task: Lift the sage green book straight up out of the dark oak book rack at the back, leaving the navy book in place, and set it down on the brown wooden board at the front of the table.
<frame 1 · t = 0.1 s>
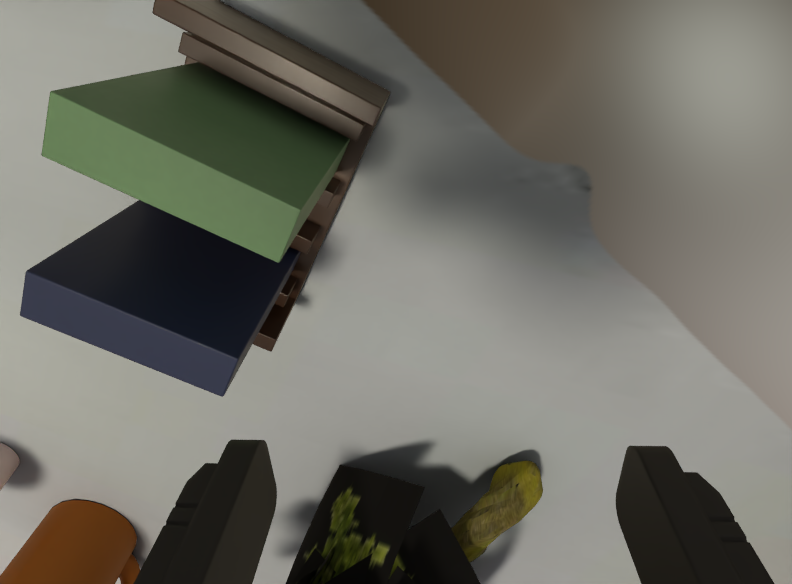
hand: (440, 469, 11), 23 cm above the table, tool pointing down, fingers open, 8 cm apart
potted plant: (405, 519, 47), on the table
mug: (105, 537, 51), on the table
book rack: (257, 171, 32), on the table
green book: (272, 118, 30), point 1 cm above the table, touching book rack
navy book: (234, 226, 33), point 1 cm above the table, touching book rack
smoothie: (0, 454, 46), on the table
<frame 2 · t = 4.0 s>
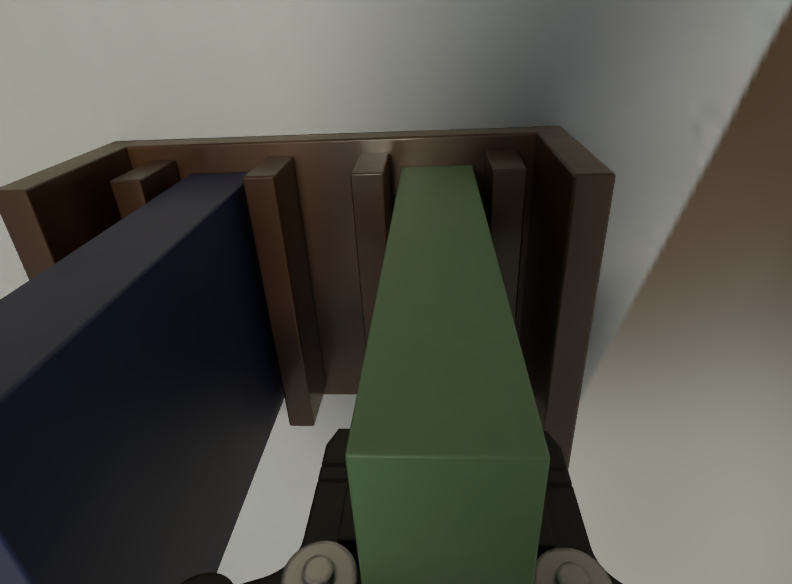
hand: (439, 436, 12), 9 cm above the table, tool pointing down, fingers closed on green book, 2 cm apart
book rack: (344, 272, 21), on the table
green book: (437, 282, 19), point 1 cm above the table, touching book rack, gripper
navy book: (246, 285, 20), point 1 cm above the table, touching book rack
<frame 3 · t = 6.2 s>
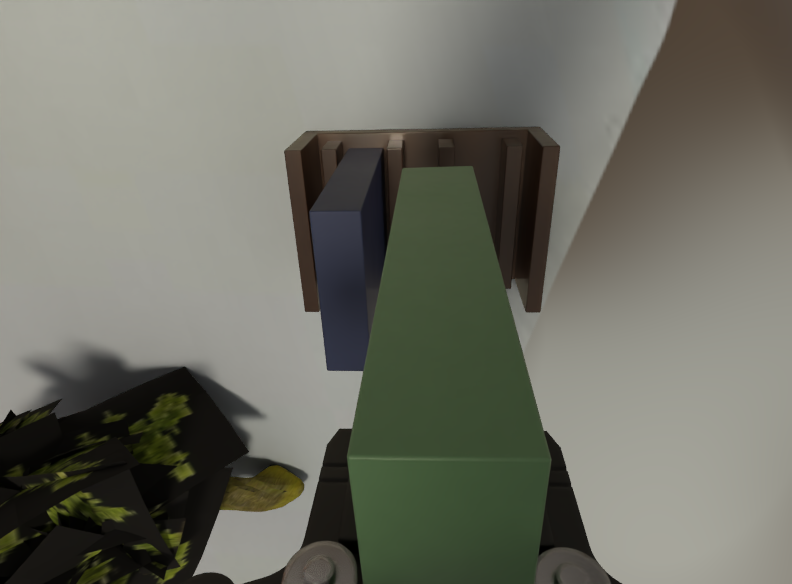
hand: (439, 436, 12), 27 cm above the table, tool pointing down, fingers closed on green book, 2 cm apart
potted plant: (167, 433, 50), on the table
book rack: (421, 206, 37), on the table
green book: (438, 283, 19), point 19 cm above the table, touching gripper
navy book: (369, 211, 37), point 1 cm above the table, touching book rack
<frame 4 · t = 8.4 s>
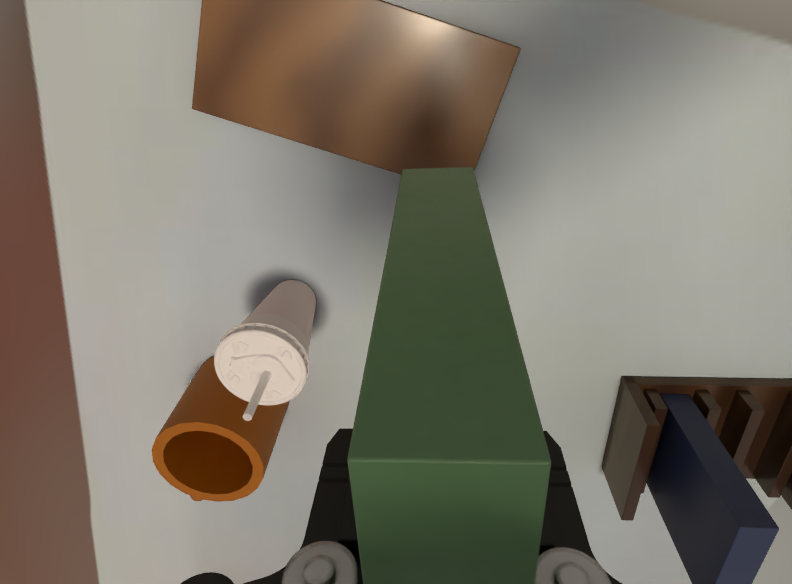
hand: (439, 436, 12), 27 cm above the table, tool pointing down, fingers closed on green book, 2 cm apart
mug: (237, 398, 49), on the table
book rack: (701, 425, 46), on the table
green book: (438, 284, 19), point 19 cm above the table, touching gripper
brown wooden board: (349, 78, 34), on the table
navy book: (663, 432, 46), point 1 cm above the table, touching book rack
smoothie: (294, 298, 43), on the table
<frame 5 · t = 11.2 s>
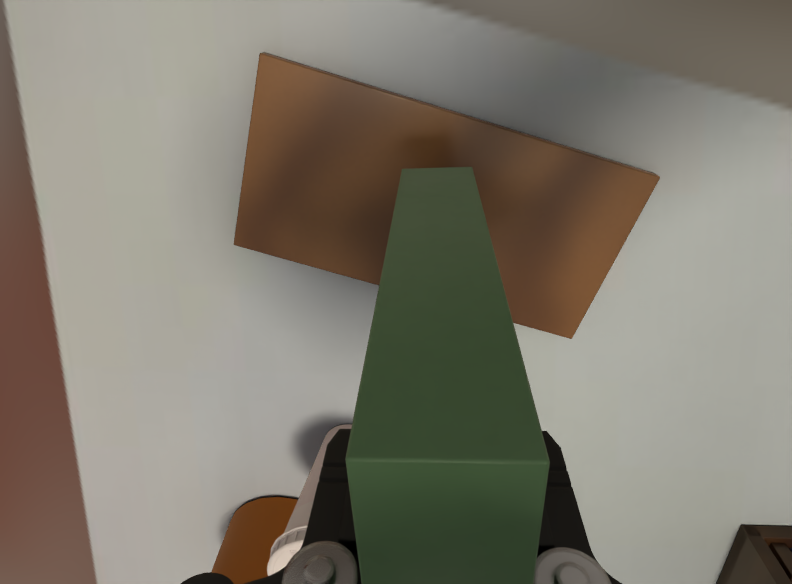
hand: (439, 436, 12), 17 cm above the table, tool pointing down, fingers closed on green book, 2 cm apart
mug: (277, 540, 41), on the table
green book: (437, 284, 19), point 9 cm above the table, touching gripper
brown wooden board: (434, 209, 27), on the table
smoothie: (350, 442, 36), on the table
when the fingers open (9 cm above the table, at t = 13.2 s): green book stays where it is, resting on brown wooden board.
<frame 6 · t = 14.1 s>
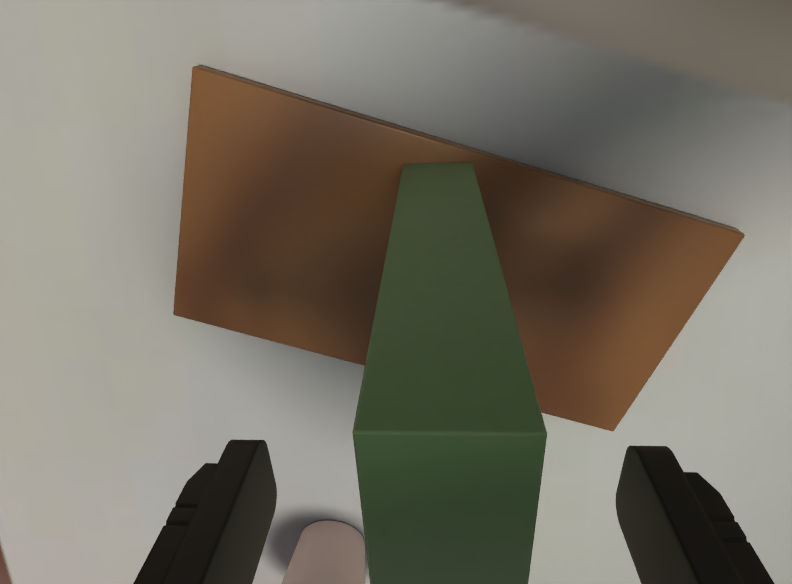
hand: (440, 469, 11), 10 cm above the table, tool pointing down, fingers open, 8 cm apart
green book: (438, 278, 20), point 1 cm above the table, touching brown wooden board
brown wooden board: (436, 271, 20), on the table
smoothie: (333, 538, 29), on the table
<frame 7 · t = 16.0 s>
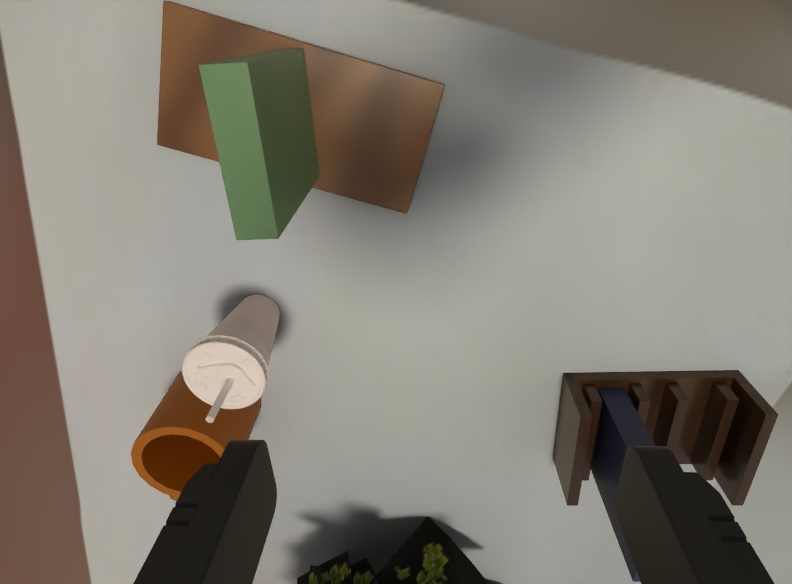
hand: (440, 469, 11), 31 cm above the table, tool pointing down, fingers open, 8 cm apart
potted plant: (399, 559, 63), on the table
mug: (212, 404, 52), on the table
book rack: (640, 416, 50), on the table
green book: (296, 116, 38), point 1 cm above the table, touching brown wooden board
brown wooden board: (297, 114, 38), on the table
navy book: (604, 424, 50), point 1 cm above the table, touching book rack
smoothie: (260, 311, 47), on the table
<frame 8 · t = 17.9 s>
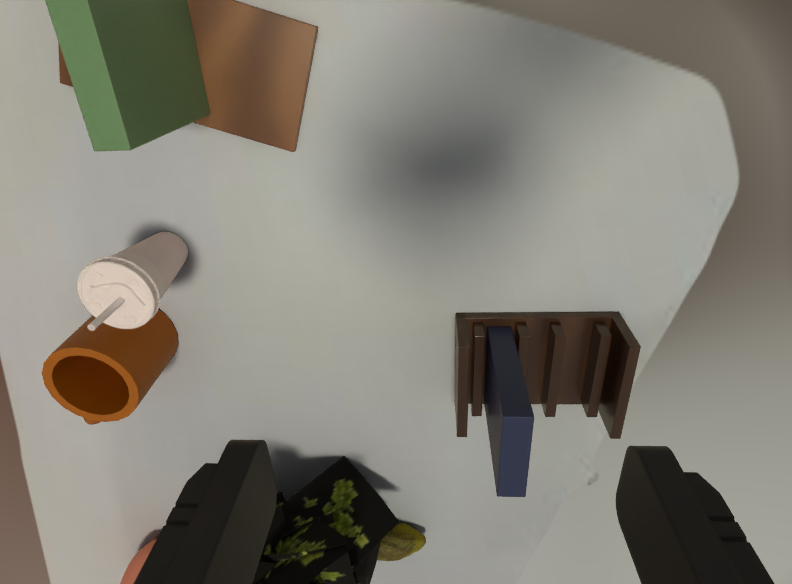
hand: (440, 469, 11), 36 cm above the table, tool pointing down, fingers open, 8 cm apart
potted plant: (322, 500, 66), on the table
mug: (134, 341, 56), on the table
book rack: (531, 357, 53), on the table
green book: (184, 56, 41), point 1 cm above the table, touching brown wooden board
brown wooden board: (186, 55, 41), on the table
teapot: (181, 554, 74), on the table
navy book: (496, 363, 53), point 1 cm above the table, touching book rack
smoothie: (170, 248, 50), on the table
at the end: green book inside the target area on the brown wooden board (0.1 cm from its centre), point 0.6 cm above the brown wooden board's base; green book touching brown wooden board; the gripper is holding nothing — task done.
